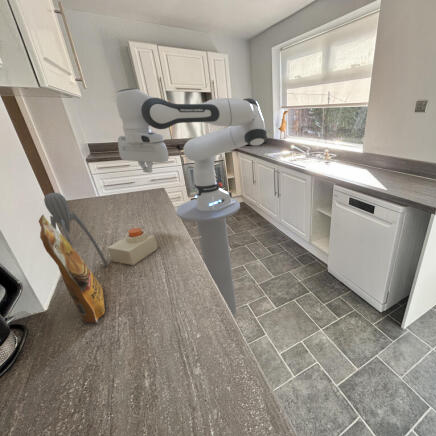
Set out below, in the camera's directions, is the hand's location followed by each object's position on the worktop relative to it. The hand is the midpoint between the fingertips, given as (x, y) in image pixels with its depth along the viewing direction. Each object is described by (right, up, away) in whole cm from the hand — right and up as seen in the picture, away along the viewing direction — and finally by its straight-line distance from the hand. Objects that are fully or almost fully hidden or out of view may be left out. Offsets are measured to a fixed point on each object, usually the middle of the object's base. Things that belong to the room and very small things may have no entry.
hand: (148, 172), depth 97 cm
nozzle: (-2, -25, -4) cm, 26 cm away
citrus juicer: (-11, -39, -16) cm, 44 cm away
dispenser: (-3, -33, -3) cm, 33 cm away
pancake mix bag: (0, -45, -27) cm, 53 cm away
